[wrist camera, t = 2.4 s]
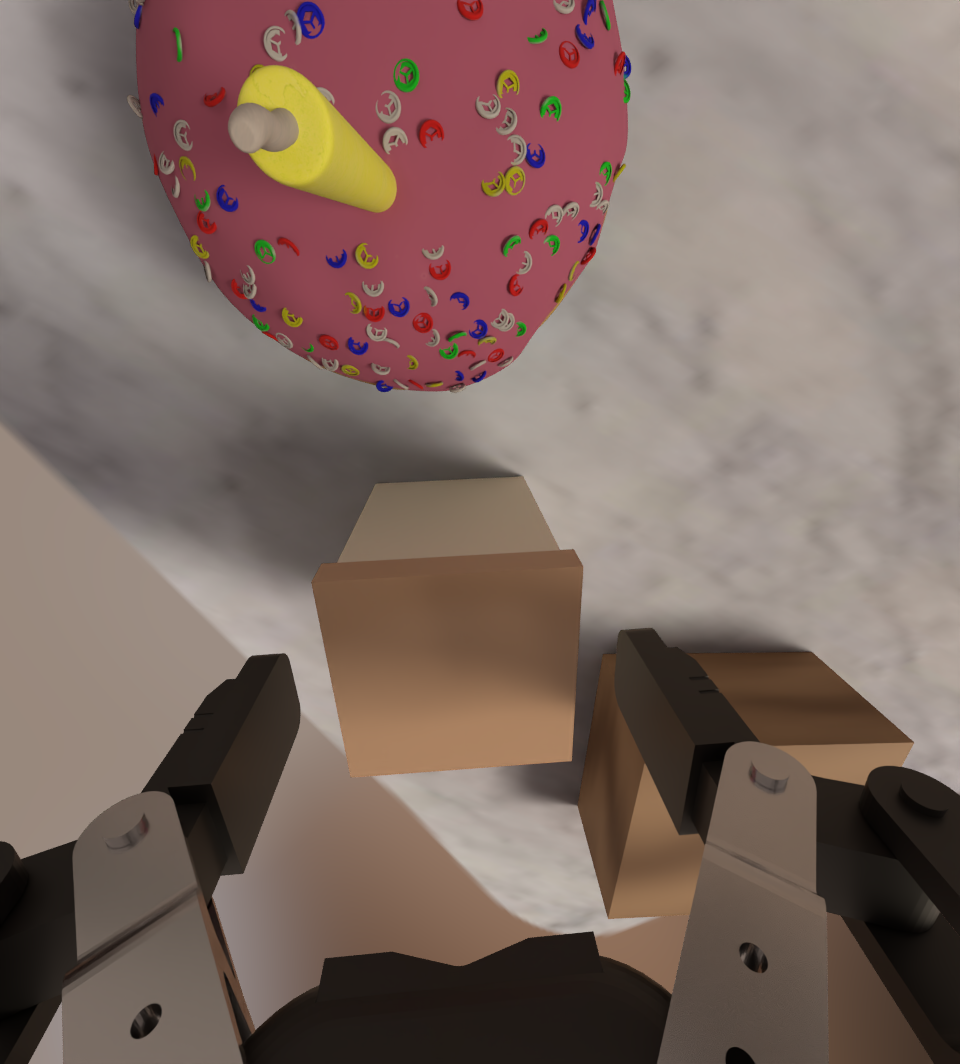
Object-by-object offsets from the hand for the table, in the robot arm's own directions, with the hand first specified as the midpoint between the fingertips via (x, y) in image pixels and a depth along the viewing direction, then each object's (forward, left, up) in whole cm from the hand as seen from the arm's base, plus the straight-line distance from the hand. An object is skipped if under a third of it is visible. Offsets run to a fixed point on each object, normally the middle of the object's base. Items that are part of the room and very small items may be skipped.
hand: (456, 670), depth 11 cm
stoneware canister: (0, 0, -6) cm, 6 cm away
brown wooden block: (+10, +10, -6) cm, 15 cm away
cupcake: (-11, -1, -6) cm, 13 cm away
